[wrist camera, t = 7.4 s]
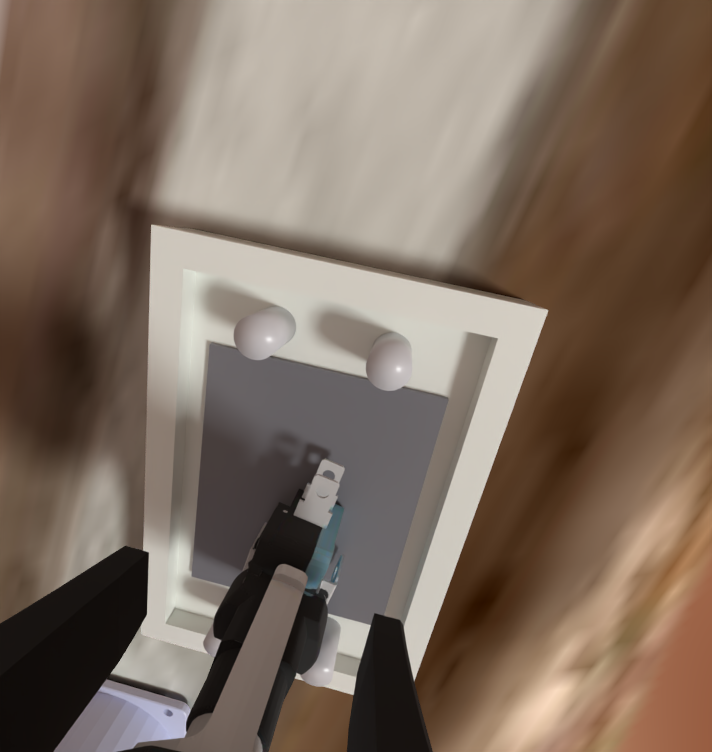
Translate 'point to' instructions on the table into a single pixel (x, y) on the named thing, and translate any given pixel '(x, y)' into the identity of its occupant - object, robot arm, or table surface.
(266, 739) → the push button
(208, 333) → the pin tray
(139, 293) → the table surface
